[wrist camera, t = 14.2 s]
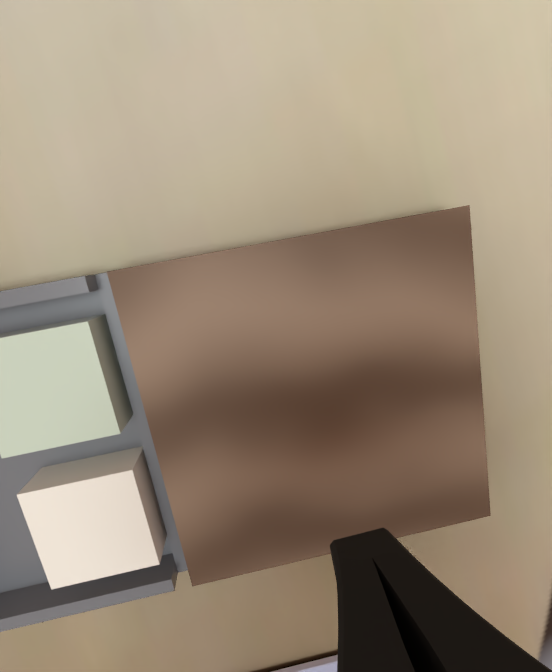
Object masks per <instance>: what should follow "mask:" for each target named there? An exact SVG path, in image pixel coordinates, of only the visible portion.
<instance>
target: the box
mask: <svg viewBox="0 0 552 672" xmlns="http://www.w3.org/2000/svg"><path fill="white" fill-rule="evenodd" d="M101 314H106V318H107V321H108V325H109V329H110V332H111V336H112V339H113V343H114V346H115V350H116V354H117V357H118V361H119V364H120V368H121V371H122V375H123V378H124V382H125V386H126V389H127V393H128V396H129V400H130V403H131V407H132V411H133V415H132V417H131V418H130V420H129V421H128V423H127V425H126V426H125V428H124V429H123V431H122V432H121V434H117V435H112V436H107V437H103V438H98V439H93V440H88V441H83V442H79V443H74V444H69V445H64V446H60V447H55V448H50V449H45V450H41V451H36V452H31V453H26V454H21V455H17V456H12V457H7V458H1V455H0V632H2V631H6V630H10V629H14V628H19V627H23V626H27V625H31V624H35V623H40V622H44V621H48V620H52V619H57V618H61V617H65V616H69V615H73V614H78V613H82V612H86V611H90V610H95V609H99V608H103V607H107V606H111V605H116V604H120V603H124V602H128V601H132V600H137V599H141V598H145V597H149V596H154V595H158V594H162V593H166V592H170V591H175V585H176V580H177V574H178V572H182V571H186V570H188V568H187V564H186V561H185V557H184V553H183V550H182V546H181V542H180V539H179V535H178V531H177V528H176V524H175V520H174V517H173V513H172V509H171V506H170V502H169V498H168V495H167V491H166V487H165V484H164V480H163V476H162V473H161V469H160V465H159V462H158V458H157V454H156V451H155V447H154V443H153V440H152V436H151V433H150V429H149V425H148V422H147V418H146V414H145V411H144V407H143V403H142V400H141V396H140V392H139V389H138V385H137V381H136V378H135V374H134V370H133V367H132V363H131V359H130V356H129V352H128V348H127V345H126V341H125V337H124V334H123V330H122V326H121V323H120V319H119V315H118V312H117V308H116V304H115V301H114V297H113V293H112V290H111V286H110V282H109V279H108V275H107V273H101V274H96V275H88V276H81V277H76V278H70V279H65V280H60V281H54V282H49V283H43V284H38V285H32V286H27V287H21V288H16V289H10V290H5V291H0V334H1V333H6V332H12V331H17V330H22V329H27V328H33V327H38V326H43V325H49V324H54V323H59V322H64V321H70V320H75V319H80V318H85V317H91V316H96V315H101ZM141 446H143V450H144V453H145V457H146V461H147V464H148V468H149V471H150V475H151V478H152V482H153V486H154V489H155V493H156V496H157V500H158V503H159V507H160V511H161V514H162V518H163V521H164V525H165V528H166V532H167V537H166V541H165V545H164V549H163V553H162V557H161V561H160V565H155V566H151V567H147V568H142V569H138V570H134V571H129V572H125V573H121V574H116V575H112V576H108V577H103V578H99V579H95V580H90V581H86V582H82V583H78V584H73V585H69V586H65V587H60V588H56V589H52V590H51V587H50V585H49V582H48V579H47V576H46V574H45V571H44V568H43V565H42V563H41V560H40V557H39V555H38V552H37V549H36V546H35V544H34V541H33V538H32V536H31V533H30V530H29V527H28V525H27V522H26V519H25V517H24V514H23V511H22V508H21V506H20V503H19V500H18V498H17V494H18V493H19V492H20V491H21V489H22V488H23V487H24V486H25V485H26V484H27V483H28V482H29V481H30V480H31V479H32V478H33V477H34V475H35V474H36V473H37V472H38V471H39V470H40V469H41V468H42V467H47V466H52V465H56V464H61V463H66V462H71V461H75V460H80V459H85V458H89V457H94V456H99V455H104V454H108V453H113V452H118V451H122V450H127V449H132V448H137V447H141Z"/></svg>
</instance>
